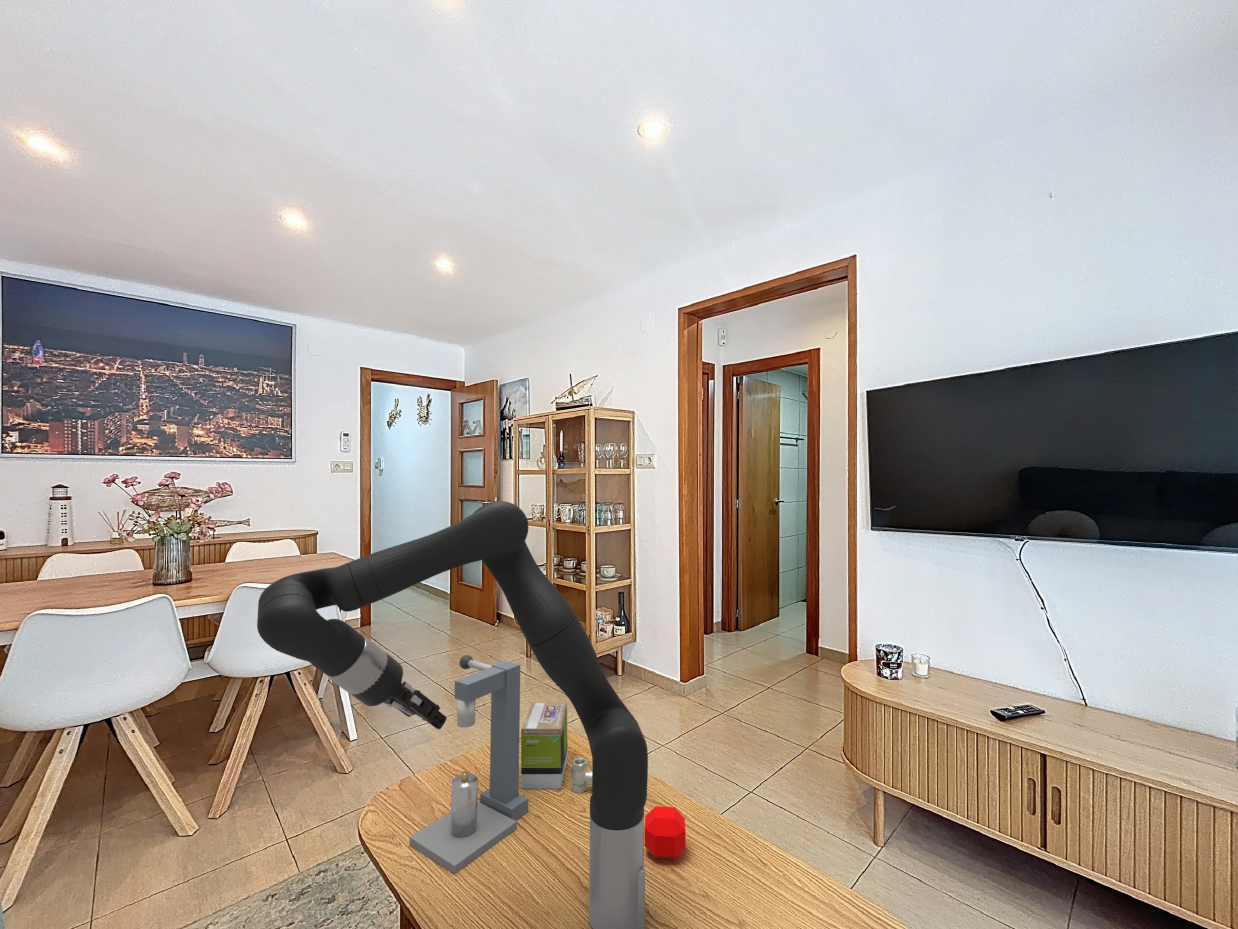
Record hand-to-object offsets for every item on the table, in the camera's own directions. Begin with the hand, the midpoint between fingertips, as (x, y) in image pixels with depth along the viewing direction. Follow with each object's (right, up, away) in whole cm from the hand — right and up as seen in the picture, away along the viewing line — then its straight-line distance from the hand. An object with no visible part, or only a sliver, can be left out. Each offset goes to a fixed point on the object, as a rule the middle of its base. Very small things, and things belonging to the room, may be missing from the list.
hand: (427, 717), depth 94 cm
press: (0, -32, +21) cm, 39 cm away
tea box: (+15, -34, +41) cm, 55 cm away
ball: (+43, -33, +12) cm, 55 cm away
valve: (+28, -33, +32) cm, 54 cm away
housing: (+2, -31, +16) cm, 35 cm away
